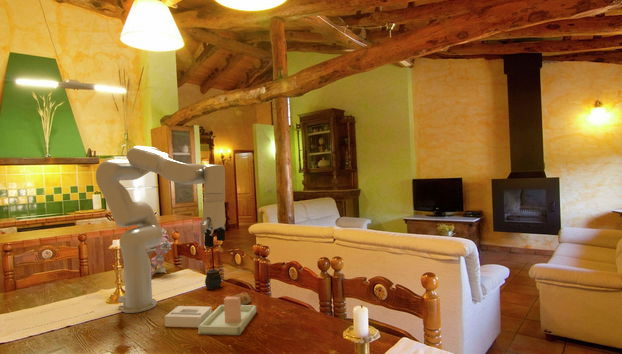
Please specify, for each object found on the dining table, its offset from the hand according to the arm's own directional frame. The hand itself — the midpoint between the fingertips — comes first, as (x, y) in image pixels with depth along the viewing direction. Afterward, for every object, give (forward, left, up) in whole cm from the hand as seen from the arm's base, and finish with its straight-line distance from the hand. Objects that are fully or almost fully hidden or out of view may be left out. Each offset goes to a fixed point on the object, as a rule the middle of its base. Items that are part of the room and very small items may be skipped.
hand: (215, 243), depth 129 cm
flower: (-54, +42, -26) cm, 73 cm away
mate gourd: (-14, +26, -26) cm, 40 cm away
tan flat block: (+9, -8, -26) cm, 28 cm away
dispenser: (-8, -8, -26) cm, 28 cm away
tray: (+7, -8, -26) cm, 28 cm away
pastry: (+5, +9, -27) cm, 28 cm away
